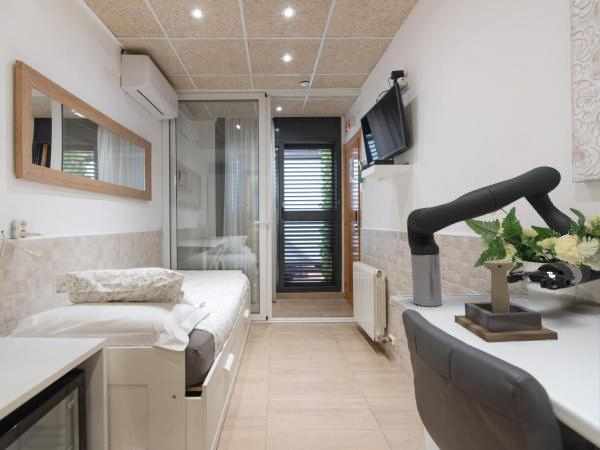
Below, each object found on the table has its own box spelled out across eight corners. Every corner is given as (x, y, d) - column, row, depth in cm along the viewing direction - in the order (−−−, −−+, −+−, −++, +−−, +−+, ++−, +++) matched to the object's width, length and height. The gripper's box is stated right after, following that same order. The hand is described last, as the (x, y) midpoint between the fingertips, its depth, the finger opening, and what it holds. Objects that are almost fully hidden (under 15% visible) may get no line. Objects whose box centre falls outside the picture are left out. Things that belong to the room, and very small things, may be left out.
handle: (518, 324, 76) (514, 263, 76) (487, 321, 79) (484, 263, 79) (514, 318, 81) (511, 260, 81) (485, 316, 83) (482, 260, 84)
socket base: (454, 321, 88) (453, 301, 88) (512, 318, 88) (510, 299, 88) (487, 342, 72) (486, 318, 72) (557, 339, 72) (556, 315, 72)
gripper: (531, 260, 97) (497, 265, 91) (588, 264, 84) (553, 270, 78) (533, 284, 97) (499, 291, 91) (590, 292, 84) (555, 300, 78)
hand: (524, 281), depth 84 cm, fingers open, 8 cm apart
